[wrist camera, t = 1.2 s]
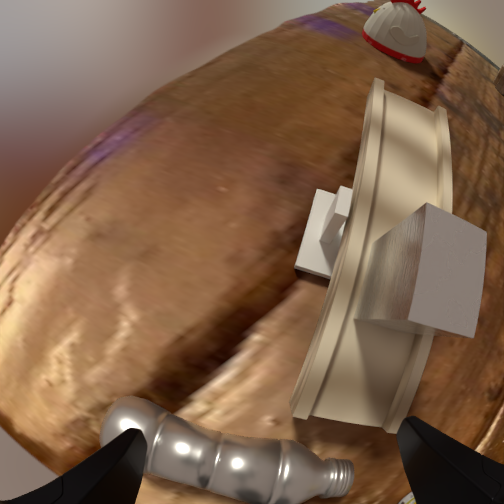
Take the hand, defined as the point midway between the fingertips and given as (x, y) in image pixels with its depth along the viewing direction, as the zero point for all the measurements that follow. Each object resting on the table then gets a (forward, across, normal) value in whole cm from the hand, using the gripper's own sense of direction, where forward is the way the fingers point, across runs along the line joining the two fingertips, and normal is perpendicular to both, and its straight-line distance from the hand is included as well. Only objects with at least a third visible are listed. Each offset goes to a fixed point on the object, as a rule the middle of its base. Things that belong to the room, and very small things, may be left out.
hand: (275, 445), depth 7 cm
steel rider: (+11, -9, -1) cm, 15 cm away
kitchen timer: (+42, -29, -41) cm, 65 cm away
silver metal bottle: (+8, +13, +9) cm, 18 cm away
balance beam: (+18, -11, -3) cm, 21 cm away
